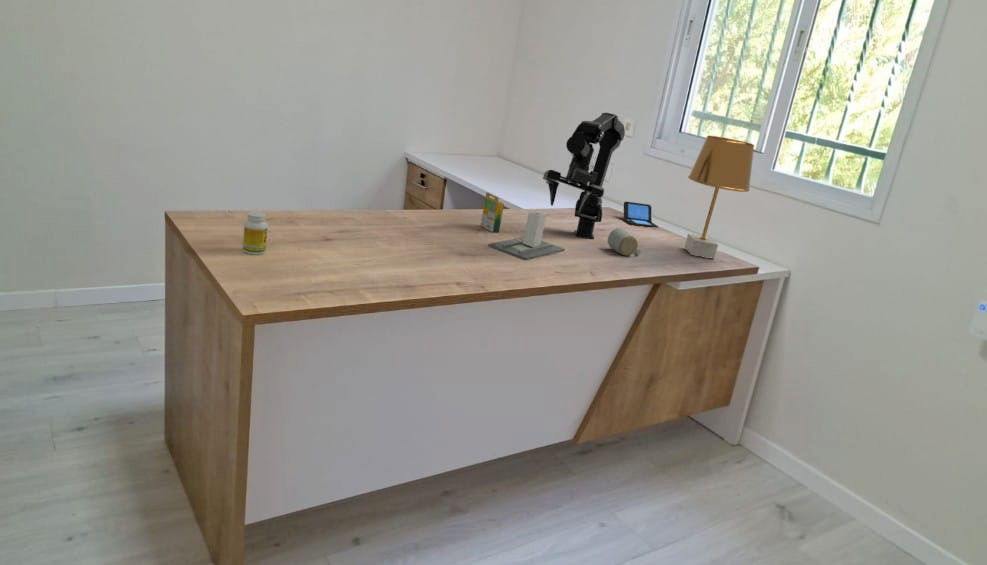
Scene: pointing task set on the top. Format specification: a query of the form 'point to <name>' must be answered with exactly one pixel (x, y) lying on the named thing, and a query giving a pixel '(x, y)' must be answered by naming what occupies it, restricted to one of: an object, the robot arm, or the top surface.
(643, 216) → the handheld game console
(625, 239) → the ceramic mug
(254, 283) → the top surface
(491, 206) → the crayon box
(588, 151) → the robot arm
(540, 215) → the fader knob
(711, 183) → the lamp
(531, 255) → the fader console
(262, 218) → the supplement bottle
